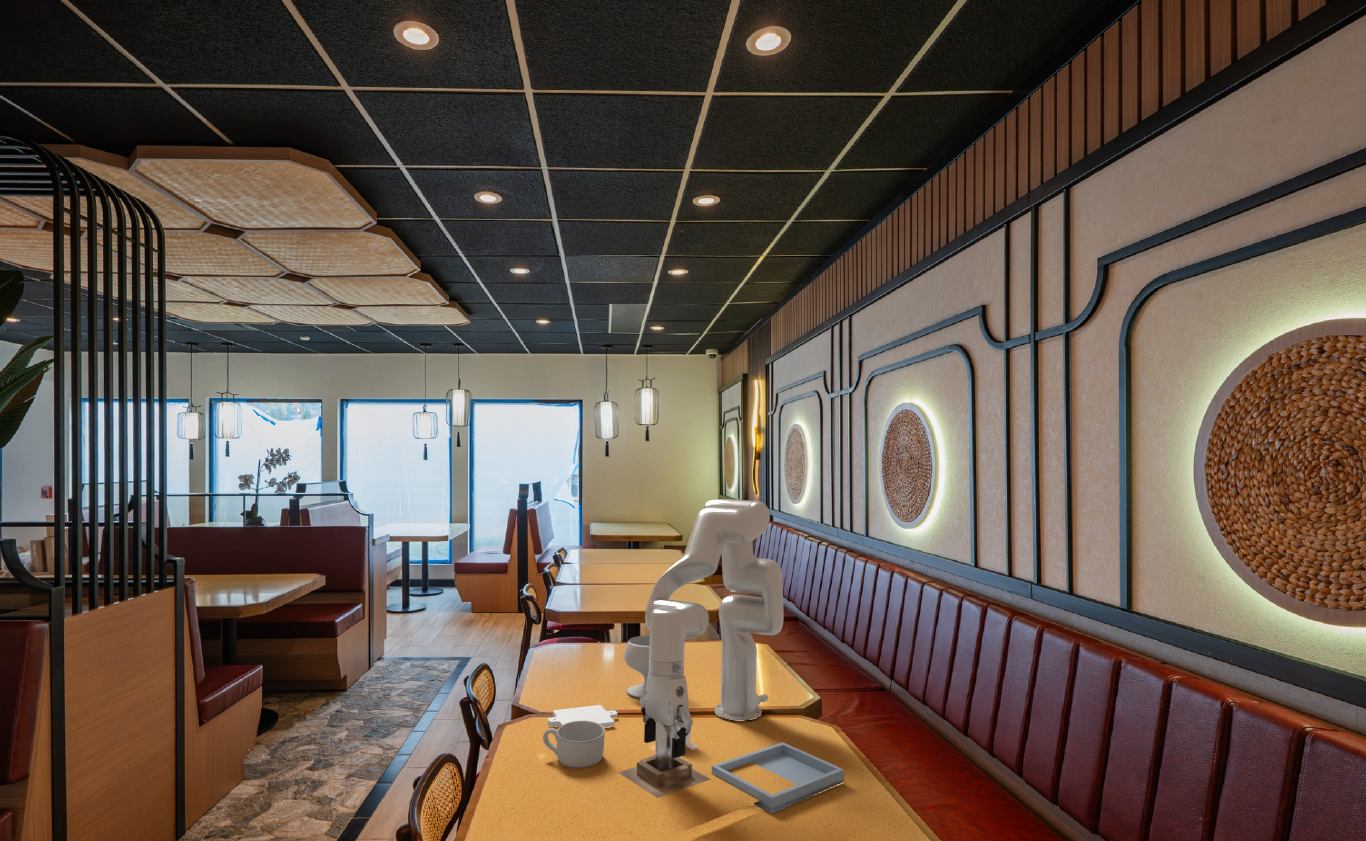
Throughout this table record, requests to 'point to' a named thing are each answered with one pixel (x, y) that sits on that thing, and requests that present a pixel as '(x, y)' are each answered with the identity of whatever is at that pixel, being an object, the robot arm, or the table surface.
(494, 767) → the table surface
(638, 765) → the brown square socket base
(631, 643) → the chalice
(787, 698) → the table surface
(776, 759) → the tray
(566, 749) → the teacup
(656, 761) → the pin
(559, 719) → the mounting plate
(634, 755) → the table surface
